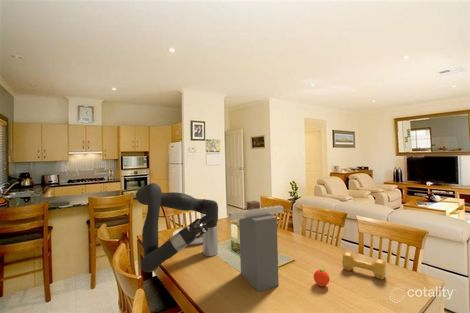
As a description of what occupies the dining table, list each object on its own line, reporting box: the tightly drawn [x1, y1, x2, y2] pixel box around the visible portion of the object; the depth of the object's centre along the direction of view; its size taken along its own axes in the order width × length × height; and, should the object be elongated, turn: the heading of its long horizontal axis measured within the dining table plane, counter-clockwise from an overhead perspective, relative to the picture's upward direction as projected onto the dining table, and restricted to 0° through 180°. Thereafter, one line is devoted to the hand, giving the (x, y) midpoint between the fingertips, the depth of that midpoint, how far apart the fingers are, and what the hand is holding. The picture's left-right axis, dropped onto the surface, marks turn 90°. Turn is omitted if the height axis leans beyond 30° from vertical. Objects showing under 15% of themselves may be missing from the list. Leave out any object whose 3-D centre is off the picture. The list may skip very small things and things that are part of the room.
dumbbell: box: [341, 251, 387, 280], centre depth 121 cm, size 19×9×8 cm, turn 50°
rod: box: [227, 204, 284, 221], centre depth 115 cm, size 3×28×3 cm, turn 113°
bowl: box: [172, 226, 203, 246], centre depth 177 cm, size 30×30×8 cm
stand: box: [238, 214, 280, 293], centre depth 118 cm, size 18×11×32 cm, turn 23°
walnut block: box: [246, 200, 261, 210], centre depth 123 cm, size 5×5×5 cm
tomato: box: [313, 268, 330, 287], centre depth 112 cm, size 8×7×7 cm
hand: (210, 217), depth 118 cm, fingers open, 8 cm apart
